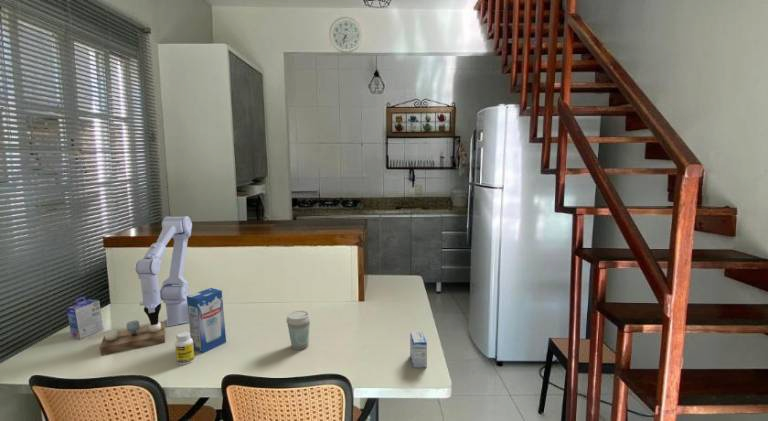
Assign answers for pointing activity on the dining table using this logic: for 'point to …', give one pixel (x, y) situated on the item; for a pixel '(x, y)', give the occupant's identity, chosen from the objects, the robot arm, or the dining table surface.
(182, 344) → the supplement bottle
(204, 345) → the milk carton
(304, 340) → the coffee cup
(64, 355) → the dining table surface
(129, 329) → the middle knob
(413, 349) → the medicine box
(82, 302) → the ink cartridge box
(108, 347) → the knob panel
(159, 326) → the knob
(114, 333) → the knob
